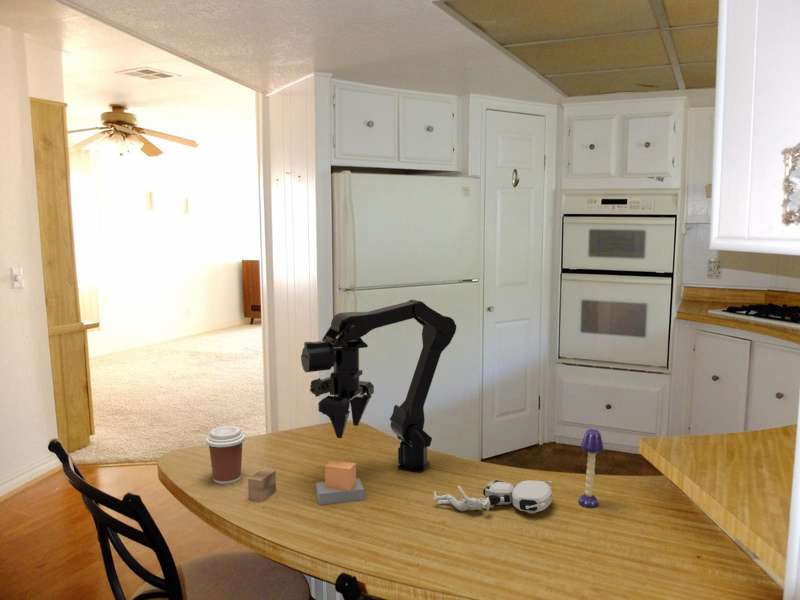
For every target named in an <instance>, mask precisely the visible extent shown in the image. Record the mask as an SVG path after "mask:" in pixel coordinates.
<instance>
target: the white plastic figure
mask: <svg viewBox="0 0 800 600" xmlns="http://www.w3.org/2000/svg"><path fill="white" fill-rule="evenodd" d="M456 488H457V489H459V492H460V494H461V496H462V499H459V500H458V499H457V498H455V496H453V495H451V494H449V493H447V494H444V495H437V491H436V490H434V491H433V496H434V497H433V501H438V502H437V504H438V505H452V506H453V507H454V508H455V509H456V510H458V511H460V512H465V511H467V510H469V509H470V510H475V511H479V510H481V509H482V508H483V509H485V510H486V511H490V510H489V509H490V508H491V505H490V500H489V497H487V498H486V497H485V501H484V502H481V501H482V500H484V499H482V500H481V501H480V500H479V499H480V498H476V497H468V495H467V494H466V493H465V491H464V490H463V488H462V487H461V486H460V485H457V487H456Z"/></svg>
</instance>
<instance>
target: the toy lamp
mask: <svg viewBox="0 0 800 600" xmlns="http://www.w3.org/2000/svg"><path fill="white" fill-rule="evenodd" d="M602 438H603V437H602V434H601V432H600V431H599V430H598V429H593V428H588V429H587V430H586V431H585V433H584V436H583V438H582V442H581V444H580V445H581V446H580V447H581V449H582V450H583V451H584V452H587V463H586V473H585V474H586V476H585V481H586V482H585V485H584V487H585V490H584V494H582V495H580V496H579V498H578V504H579V505H580V506H582V507H584V508H588V509H593V508H594V509H595V508H598V506H599V505H600V504H599V501H598V498H597V497H596V496H595V495H594V491H593V490H594V481H595V474H596V473H595V468H596V455H597V454H598V453H602V452H603V451H604V443H603V439H602Z"/></svg>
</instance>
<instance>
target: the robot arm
mask: <svg viewBox="0 0 800 600" xmlns="http://www.w3.org/2000/svg"><path fill="white" fill-rule="evenodd" d="M413 319H414V321H416V322H417V324H418V323H419V325H421V326H422V332H421V337H422V338H421V340H422V349H421V351H420V355H419V358H418V361H417V364H416V367H415V370H414V372H413V376H412V378H411V382H410V385H409V387H408V391H407V394H406V397H405V400H404V401H403V402H402V403H401V404H400V405H398V404H395V405H394V407H393V410H392V414H391V416H390V418H389V421H390V428H391V430H392V432H393V433H394V434H395V435H396V437H397V439H398V440H400V443H399V447H398V449H397V460H398V461H397V463H398V465H397V469H398V470H405V471H410V472H418V473H422V472H424V470H425V469H426V468H427V467H428V465H429V464H430V460H428V448H429V447H431V444H432V441H433V438H432V436H430V435H429V434H428V433H427V432H426V431H425V430H424V428H425V427H424V426H425V409H424V406H425V403H426V401H427V398H428V394H429V392H430V388H431V385H432V382H433V379H434V376H435V374H436V373H435V372H436V370H437V367H438V365H439V361H440V357H441V355H442V353H443V351H445V350H446V348H447V347H448V346H450V344H451V342H452V340H453V338H454V336H455V334H456V331H457V324H456V322H455V320H454V319H453V318H452V317H451V316H447V315H443V314H440V313H439V312H437V311H436V310H435V309H432V308H431V307H430V306H428V305H427V304H425V302H423V301H421V300H417V299H410V300H407V301H405V302H401V303H396V304H393V305H388V306H384V307H382V308H378V309H372V310H370V311H350V312H349V311H348V312H345V311H344V312H339V313H336V314H335V315H334V316H333V318H332V319H331V323H330V327H329V328H328V329H327V331H326V332H325V334H324V336H323V337H322V339H321V341H305V342H303V348H302V352H301V355H300V359H301V360H300V362H301V367H302V370H303V371H304V373H315V372H320V371H329V370H331V369H332V368H334V371H332V372H331V373H330V376H329V377H326V378H322V379H321V378H319V377H318V378H316V379H313V380H311V381H310V385H309V386H310V388H309V392H310V393H311V394H313V395H315V398H317V397H320V396H322V395H324V394H327V393H329V395H327V396H325V397H324V398H322V399H321V400H320V401H319V402H318V403H317V405H318V410H317V411H318V412H319V413H322V415H325V416H327V417H328V418H329V420H330V422H331V425H332V428H333V430H334V433H335V436H336V438H337V439H342V438H343V435H344V433H345V430H346V426H347V423H348V419H349V416H350V412H351V418H352V424H353V426H354V427H357V426H359V424H360V422H361V420H362V417H363V415H364V413H365V410H366V409H367V406H368V404H369V402H370V400H371V399H372V395H373V394H375V391H374V390H375V389H374V388H375V386H374V384H373V383H372V382H371V381H365V380H364V381H363V380H360V376H362V375H363V369H360V349H363V348H365V349H366V348H368V346H369V345H368V343H366V342H365V341H364V340H363V339H362V337H364V336H366V335H367V334H369V333H370V332H371V331H374V330H375V329H379V328H381V327H385V326H389V325H393V324H398V323H400V322H405V321H407V320H413ZM350 410H351V411H350Z"/></svg>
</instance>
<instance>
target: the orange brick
mask: <svg viewBox="0 0 800 600" xmlns="http://www.w3.org/2000/svg"><path fill="white" fill-rule="evenodd" d="M356 464H357V463H355V462H348V461H341V460H334V459H331V460H330V461H328V463H326V464H325V465H324V479H325V480H324V482H325V487H328V488H335V489H341V490H348V491H350V490H351V489H352V488H353V487H354V486H355V485H356V479H357V465H356Z"/></svg>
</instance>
